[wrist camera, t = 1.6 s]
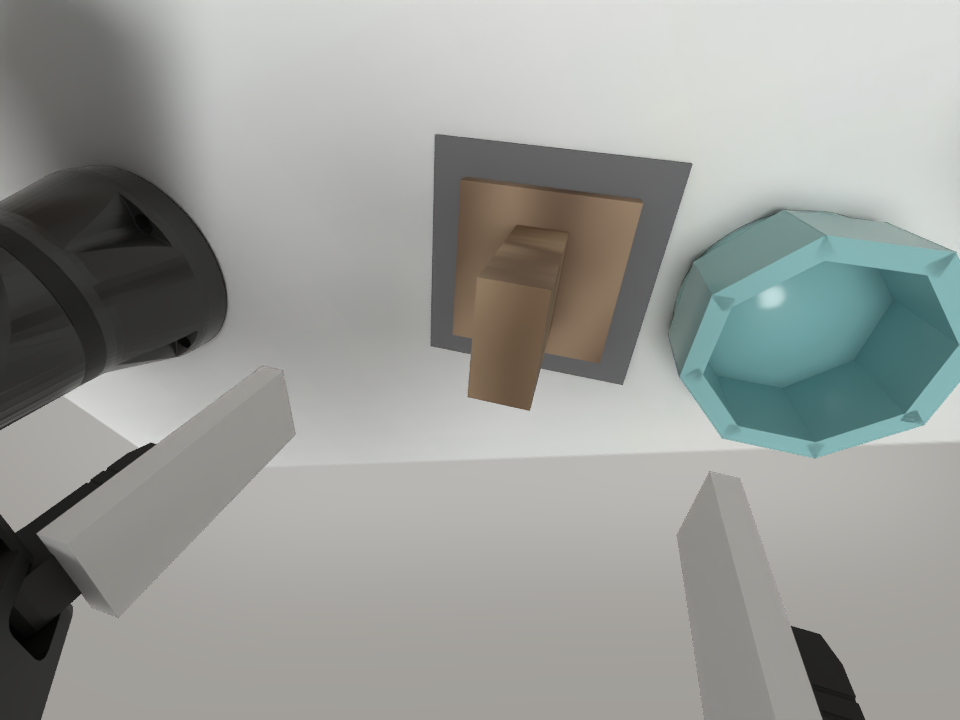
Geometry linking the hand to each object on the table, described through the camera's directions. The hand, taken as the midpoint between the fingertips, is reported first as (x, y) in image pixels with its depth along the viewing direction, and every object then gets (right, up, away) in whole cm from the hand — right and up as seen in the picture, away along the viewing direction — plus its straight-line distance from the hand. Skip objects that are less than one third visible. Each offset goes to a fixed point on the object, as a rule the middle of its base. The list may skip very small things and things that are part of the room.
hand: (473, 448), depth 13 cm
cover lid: (+4, +8, +14) cm, 16 cm away
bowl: (+17, +6, +12) cm, 22 cm away
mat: (+4, +8, +14) cm, 17 cm away
